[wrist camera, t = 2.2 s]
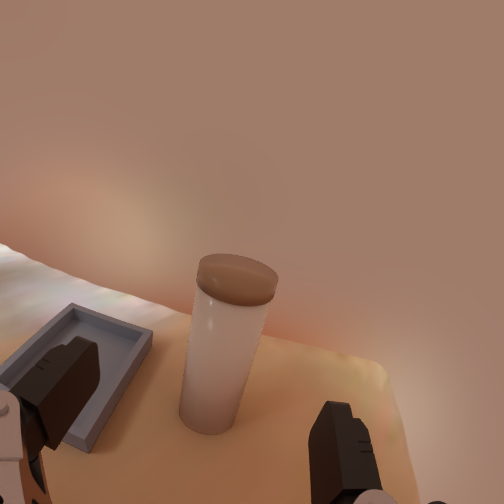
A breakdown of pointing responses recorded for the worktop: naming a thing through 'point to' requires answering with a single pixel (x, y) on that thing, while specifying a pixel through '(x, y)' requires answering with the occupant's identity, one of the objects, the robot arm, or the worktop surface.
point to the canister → (223, 338)
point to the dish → (110, 360)
